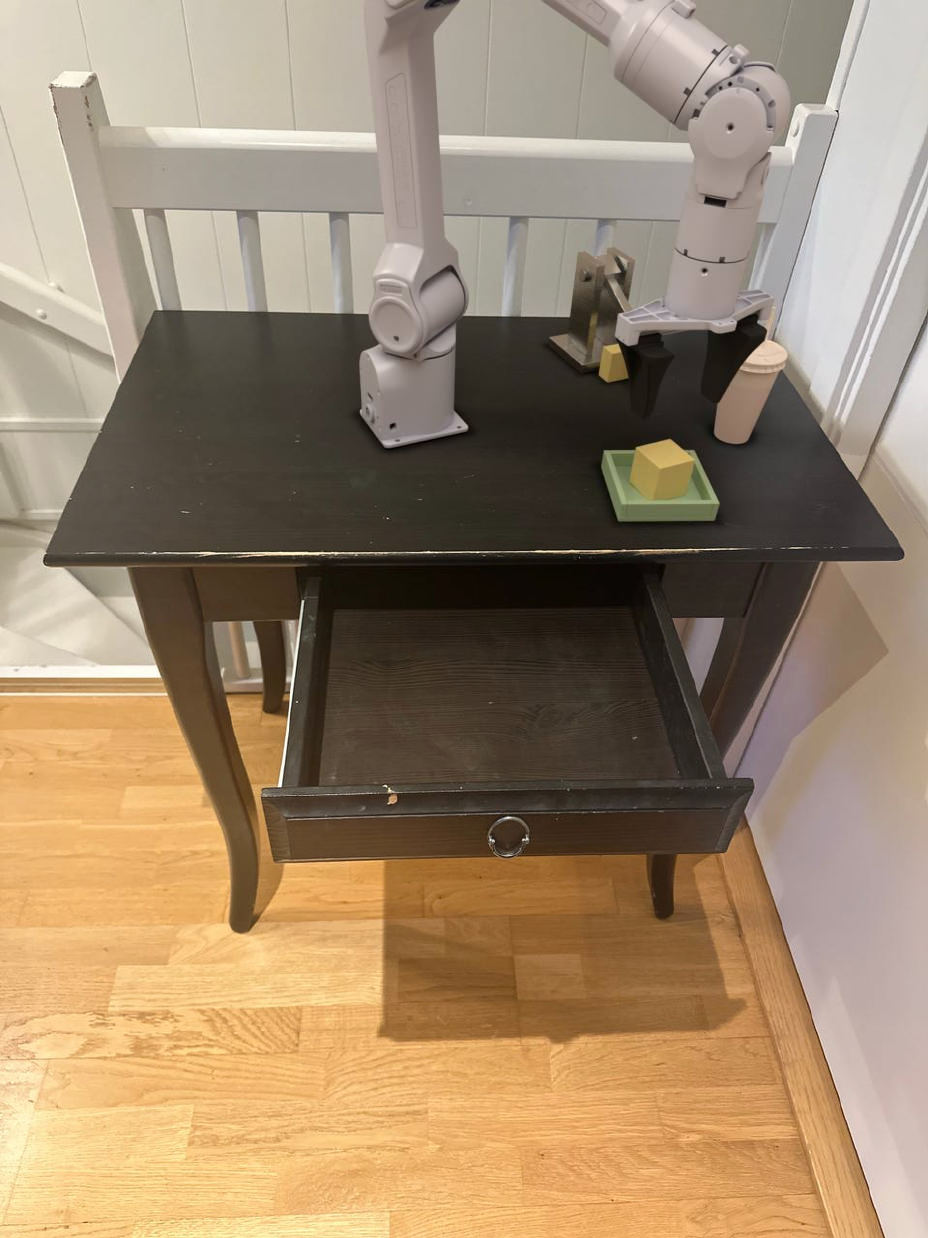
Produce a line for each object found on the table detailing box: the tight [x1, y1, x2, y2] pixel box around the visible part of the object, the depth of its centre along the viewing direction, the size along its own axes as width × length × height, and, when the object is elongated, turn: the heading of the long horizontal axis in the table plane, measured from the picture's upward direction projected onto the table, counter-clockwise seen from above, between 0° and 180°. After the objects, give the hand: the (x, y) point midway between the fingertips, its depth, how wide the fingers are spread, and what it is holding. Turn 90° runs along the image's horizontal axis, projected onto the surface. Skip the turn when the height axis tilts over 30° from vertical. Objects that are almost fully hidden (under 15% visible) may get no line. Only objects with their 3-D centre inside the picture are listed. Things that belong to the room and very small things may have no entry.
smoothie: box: [713, 306, 789, 445], centre depth 85 cm, size 6×6×14 cm
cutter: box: [547, 246, 636, 375], centre depth 99 cm, size 8×8×12 cm
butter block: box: [598, 344, 629, 384], centre depth 98 cm, size 2×4×4 cm, turn 115°
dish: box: [600, 449, 721, 522], centre depth 81 cm, size 9×9×2 cm
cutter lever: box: [593, 253, 633, 314], centre depth 95 cm, size 15×3×3 cm, turn 25°
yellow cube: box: [629, 438, 695, 500], centre depth 80 cm, size 4×4×4 cm
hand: (675, 406), depth 75 cm, fingers open, 7 cm apart
